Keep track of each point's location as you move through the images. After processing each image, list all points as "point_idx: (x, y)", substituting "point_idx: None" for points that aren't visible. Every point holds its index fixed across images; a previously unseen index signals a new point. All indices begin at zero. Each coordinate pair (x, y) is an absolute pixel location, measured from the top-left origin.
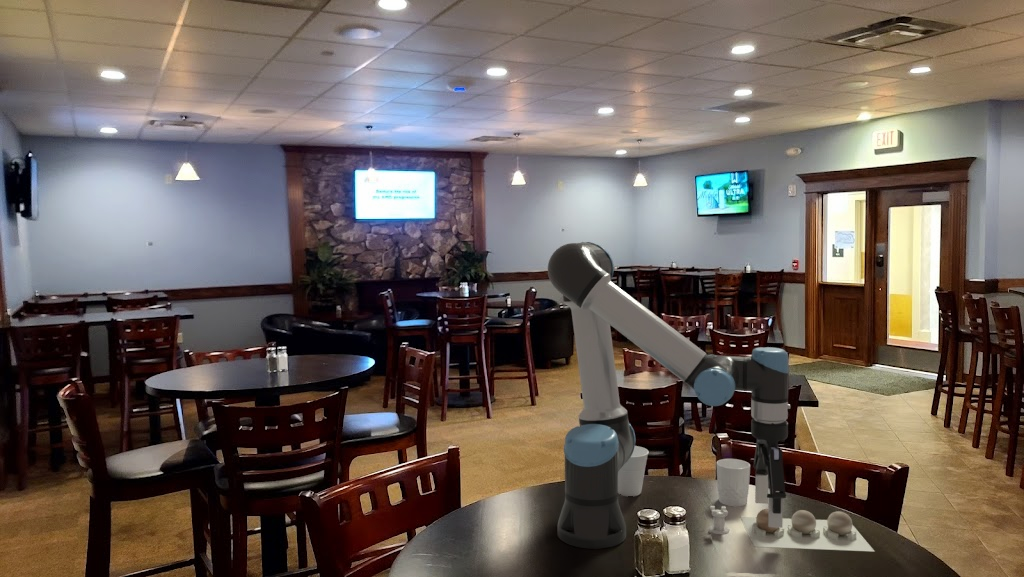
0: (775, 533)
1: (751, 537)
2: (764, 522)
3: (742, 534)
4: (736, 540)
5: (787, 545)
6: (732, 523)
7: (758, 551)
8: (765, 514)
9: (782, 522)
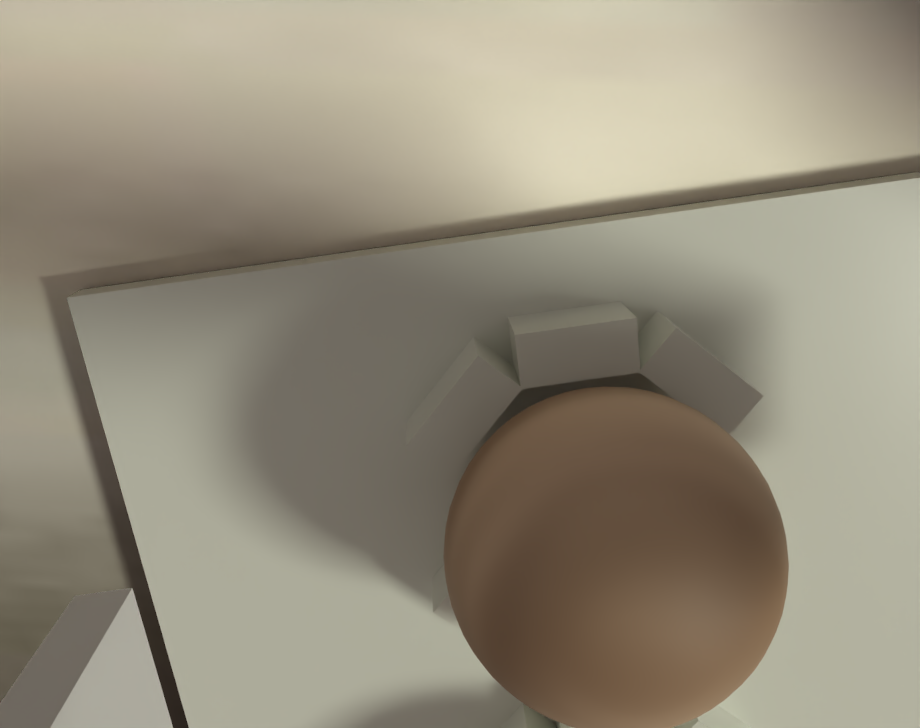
0: None
1: (352, 278)
2: (457, 512)
3: (515, 166)
4: (295, 77)
5: (229, 652)
6: (873, 42)
7: (41, 337)
8: (535, 583)
9: (882, 641)
